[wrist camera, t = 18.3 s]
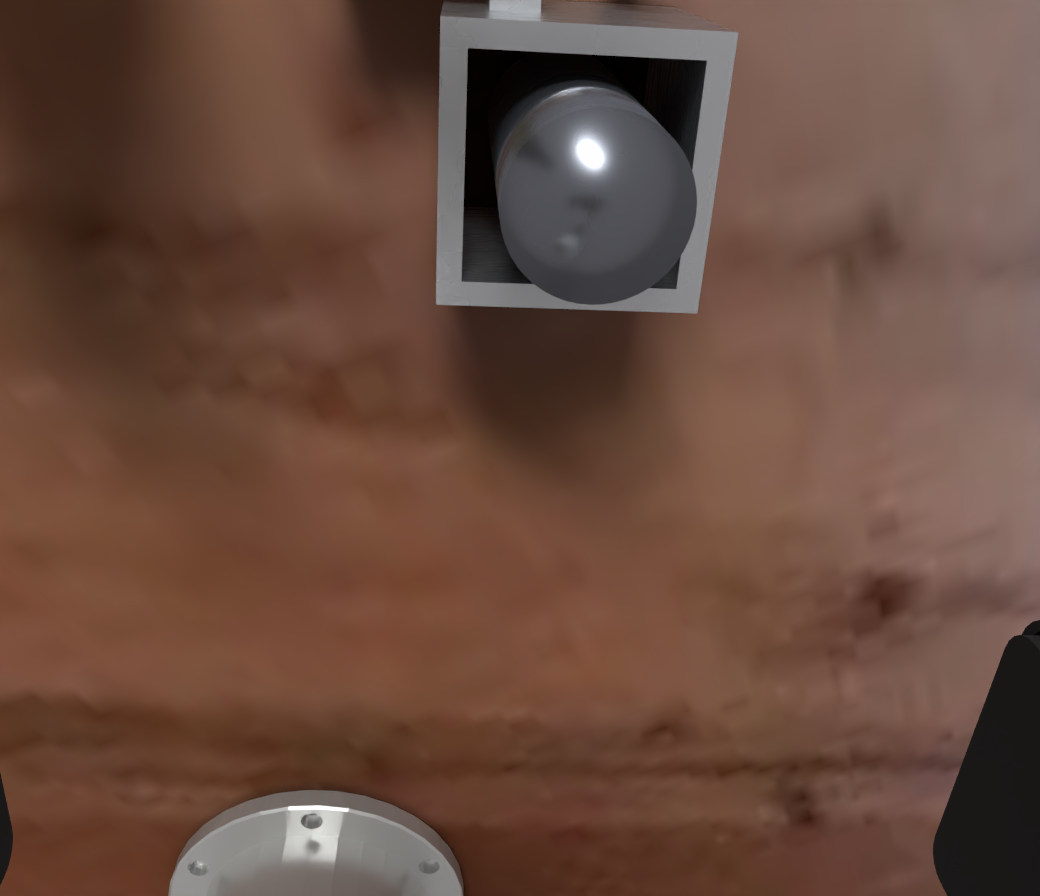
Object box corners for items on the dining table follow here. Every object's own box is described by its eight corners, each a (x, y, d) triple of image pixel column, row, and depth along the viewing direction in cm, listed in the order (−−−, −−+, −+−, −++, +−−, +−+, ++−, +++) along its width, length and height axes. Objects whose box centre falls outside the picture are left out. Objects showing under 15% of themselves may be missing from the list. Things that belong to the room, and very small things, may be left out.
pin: (617, 192, 30) (683, 307, 21) (485, 187, 29) (495, 301, 21) (632, 51, 28) (710, 112, 19) (490, 43, 28) (503, 101, 19)
